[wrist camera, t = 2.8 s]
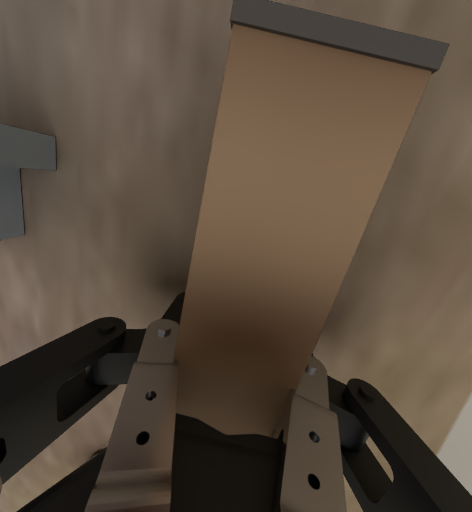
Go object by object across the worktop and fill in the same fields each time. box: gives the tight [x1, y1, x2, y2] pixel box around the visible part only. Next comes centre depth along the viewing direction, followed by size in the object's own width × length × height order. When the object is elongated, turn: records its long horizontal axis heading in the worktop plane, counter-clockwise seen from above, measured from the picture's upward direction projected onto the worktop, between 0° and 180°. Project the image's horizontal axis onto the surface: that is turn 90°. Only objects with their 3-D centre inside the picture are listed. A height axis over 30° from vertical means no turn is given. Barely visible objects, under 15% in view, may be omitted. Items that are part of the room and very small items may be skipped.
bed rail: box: [174, 0, 450, 437], centre depth 9 cm, size 14×4×6 cm, turn 167°
